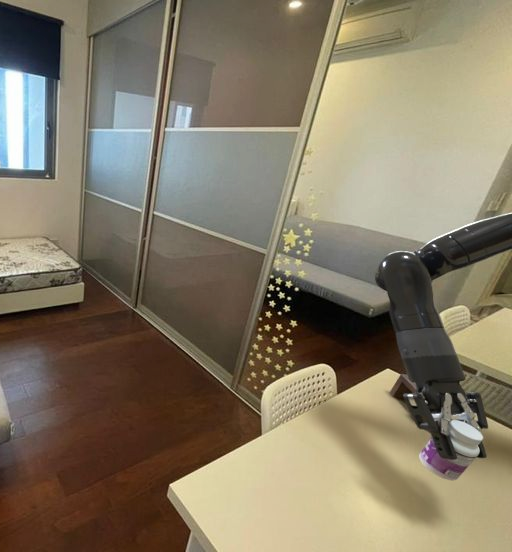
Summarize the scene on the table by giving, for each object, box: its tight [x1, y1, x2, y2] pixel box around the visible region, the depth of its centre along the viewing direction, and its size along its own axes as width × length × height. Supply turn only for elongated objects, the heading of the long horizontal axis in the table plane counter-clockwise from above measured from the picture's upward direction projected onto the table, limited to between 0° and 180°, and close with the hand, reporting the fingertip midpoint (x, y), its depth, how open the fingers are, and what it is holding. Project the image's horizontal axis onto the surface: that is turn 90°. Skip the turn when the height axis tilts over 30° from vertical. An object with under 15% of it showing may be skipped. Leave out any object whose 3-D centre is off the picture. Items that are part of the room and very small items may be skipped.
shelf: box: [389, 373, 465, 426], centre depth 83 cm, size 10×10×7 cm
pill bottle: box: [418, 420, 484, 481], centre depth 55 cm, size 5×5×10 cm
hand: (463, 457), depth 54 cm, fingers closed on pill bottle, 5 cm apart
